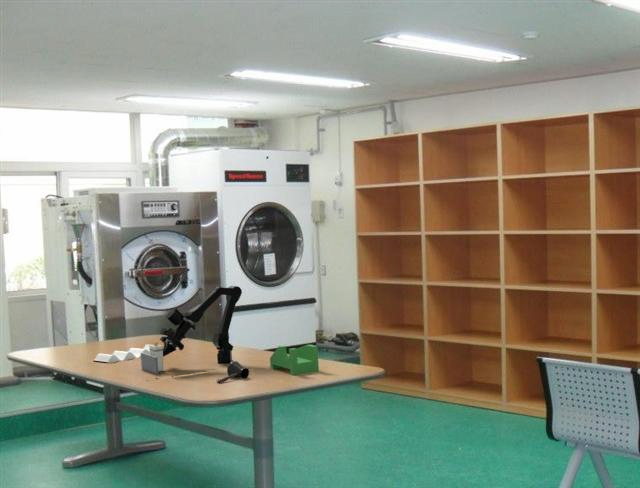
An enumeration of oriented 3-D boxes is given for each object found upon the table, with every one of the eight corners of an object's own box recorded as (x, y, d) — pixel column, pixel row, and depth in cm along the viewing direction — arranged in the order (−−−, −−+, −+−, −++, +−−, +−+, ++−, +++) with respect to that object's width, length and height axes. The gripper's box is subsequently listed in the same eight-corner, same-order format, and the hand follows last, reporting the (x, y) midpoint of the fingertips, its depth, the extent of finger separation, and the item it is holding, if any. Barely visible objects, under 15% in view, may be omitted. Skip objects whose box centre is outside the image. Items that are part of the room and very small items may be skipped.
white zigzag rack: (92, 363, 456) (91, 353, 455) (146, 353, 481) (146, 344, 481) (106, 364, 447) (105, 355, 447) (160, 354, 472) (159, 345, 472)
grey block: (167, 367, 423) (166, 349, 423) (183, 372, 406) (181, 353, 406) (141, 371, 416) (140, 352, 416) (156, 376, 399) (155, 357, 399)
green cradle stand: (318, 372, 389) (317, 346, 389) (292, 375, 383) (291, 349, 383) (295, 365, 410) (294, 340, 410) (270, 369, 404) (269, 344, 404)
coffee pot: (240, 374, 391) (251, 378, 385) (208, 386, 379) (220, 391, 373) (239, 358, 389) (250, 363, 383) (207, 370, 377) (218, 374, 371)
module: (158, 368, 414) (156, 340, 414) (163, 370, 408) (162, 342, 408) (150, 369, 412) (149, 341, 412) (155, 371, 406) (154, 343, 406)
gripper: (162, 319, 421) (142, 344, 416) (176, 322, 405) (155, 348, 400) (178, 333, 426) (158, 358, 420) (192, 337, 410) (172, 362, 404)
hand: (160, 356), depth 411 cm, fingers closed, pressing on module
